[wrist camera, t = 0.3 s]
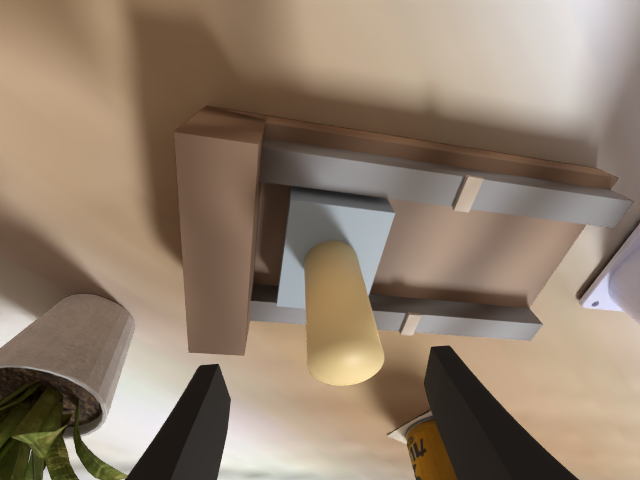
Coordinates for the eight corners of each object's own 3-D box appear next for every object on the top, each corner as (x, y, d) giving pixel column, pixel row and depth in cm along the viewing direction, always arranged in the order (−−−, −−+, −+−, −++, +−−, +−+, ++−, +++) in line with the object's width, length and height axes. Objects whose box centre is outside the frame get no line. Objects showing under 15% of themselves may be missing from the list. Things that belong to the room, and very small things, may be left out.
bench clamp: (596, 168, 19) (682, 206, 15) (502, 316, 25) (544, 372, 21) (206, 105, 16) (173, 132, 12) (209, 291, 22) (188, 352, 18)
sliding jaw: (385, 195, 17) (443, 300, 10) (357, 290, 21) (387, 415, 14) (291, 182, 16) (287, 286, 10) (278, 283, 20) (269, 411, 13)
